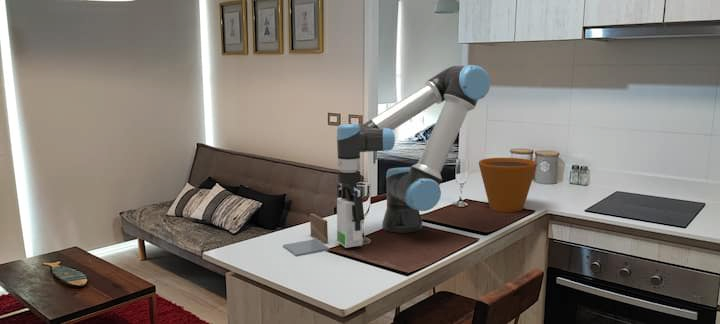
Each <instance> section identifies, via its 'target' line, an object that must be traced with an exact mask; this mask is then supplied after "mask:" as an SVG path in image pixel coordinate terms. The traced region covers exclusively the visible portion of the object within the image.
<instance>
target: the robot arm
mask: <svg viewBox="0 0 720 324" xmlns="http://www.w3.org/2000/svg"><path fill="white" fill-rule="evenodd" d="M489 77H490V76H489V73H488V72H487V71H486V69H484V68H483V67H482V66H479V65H473V64H466V65H454V66H450V67H447V68H446V69H443V70H442V71H440V72H438V73H437V74H436V75H434V76H432V77H431V78H430V79H428V80H426V81H425V82H424V85H423V86H422V87H420V88H419V89H418V90H415V91H414V92H413V93H411V94H409V95H408V96H406V97H405V98H403V99H402V100H400V101H398V102H397V103H395V104H393V105H392V106H390V107H388V108H387V109H385V110H384V111H382V112H380V113H379V114H378V115H376V116H374V117H373V118H371V119H370V120H368V121H366V122H365V123H363V124H358V123H344V124H343V123H341V124H339V125H338V126H337V128H336V129H337V131H336V146H337V162H336V164H337V170H338V171H337V182H338V183H337V184H336V189H337V191H336V193H337V194H336V199H337V198H347V199H348V201H350V202H354V204H355V205H352V215H353V220H352V240H353V241H354V240H359V239H361V226H360V222H361V220H363V221H365V212H364V204H363V190H362V189H360V190H359V189H358V183H360V182H361V171H360V170H361V153H368V152H387V151H391V150H393V149H394V146H395V144H396V139H395V138H396V137H395V134H394V130H396V129H397V128H399V127H401V126H402V125H403V124H405V123H407V122H408V121H409V120H411V119H413V118H414V117H416V116H418V115H419V114H420V113H423V111H425V110H427V109H428V108H430V107H432V106H433V105H435V104H437V105H439V104H442V103H443V102H444V104H443V107H442V109H441V111H440V113H439V116H438V117H437V120H436V122H435V125H434V127H433V129H432V131H431V133H430V135H429V137H428V140H427V142H426V145H425V146H424V148H423V151H422V153H421V156H420V157H419V160H418V161H417V163H415V164H413V165H411V166H406V167H404V166H403V167H393V168H388V169H387V171H386V175H385V179H386V182H385V183H386V210H385V213H384V216H383V220H382V230H384V231H387V232H391V233H399V234H406V233H414V232H415V233H416V232H419V231H421V230H422V229H423V226H424V225H423V220H422V217H421V214H420V212H425V211H429V210H431V209H433V208H434V207H435V206H437V205H438V203H439V202H440V199H441V197H442V196H441V195H442V191H441V186H440V185H441V183H442V181H443V178H442V175H441V172H442V171H443V168H444V166H445V164H446V161H447V159H448V156H449V154H450V152H451V150H452V148H453V146H454V144H455V142H456V139H457V137H458V134H459V132H460V131H461V128H462V126H463V124H464V121H465V120H466V117H467V115H468V112H469V111H473V110H475V107H476V106H477V104H478V101H479V100H482V99H483V98H485V97H486V96H487V95H488V93H489V92H490V87H491V80H490V78H489ZM352 198H353V199H352ZM335 209H336V210H335V211H336V212H337V204H336V208H335Z"/></svg>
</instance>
